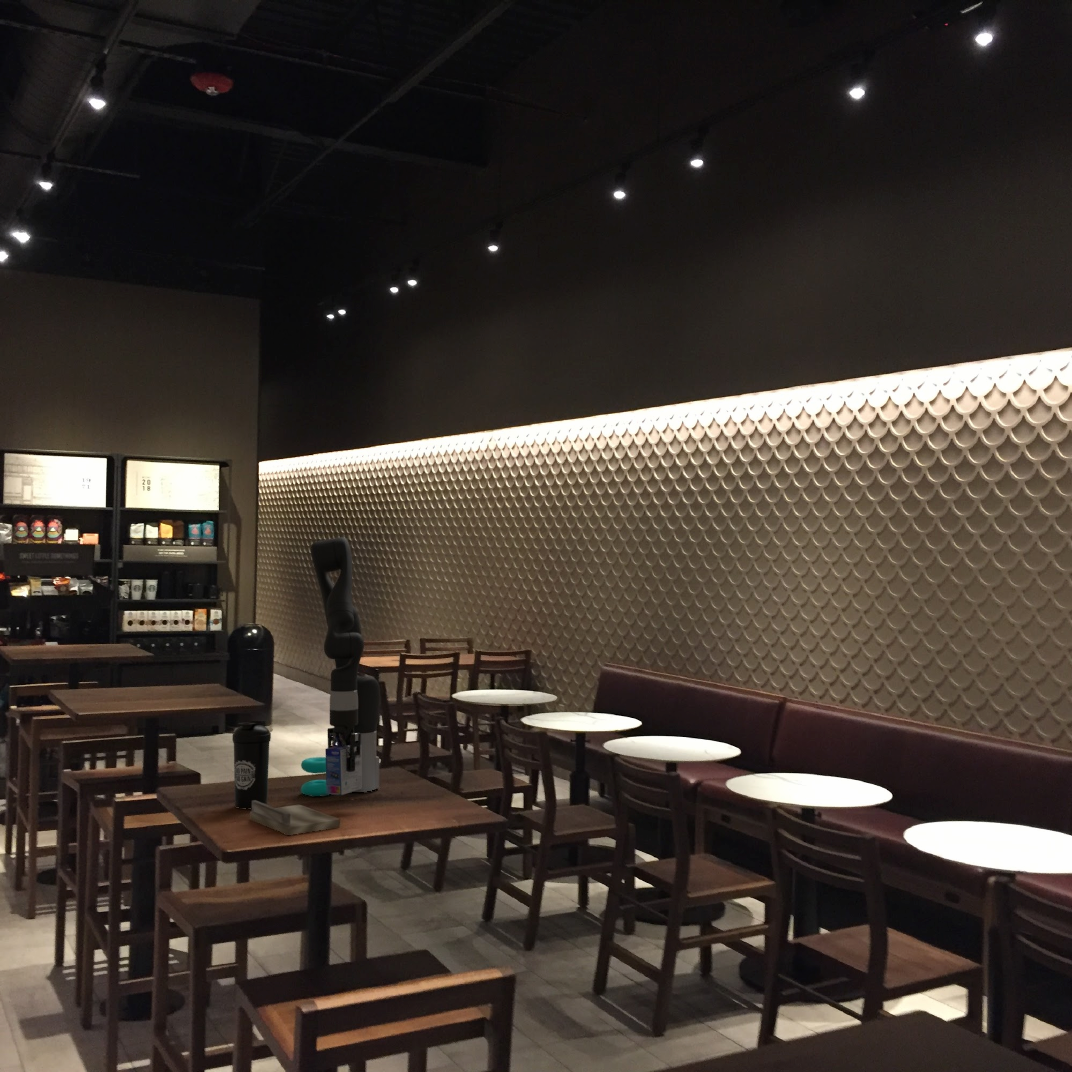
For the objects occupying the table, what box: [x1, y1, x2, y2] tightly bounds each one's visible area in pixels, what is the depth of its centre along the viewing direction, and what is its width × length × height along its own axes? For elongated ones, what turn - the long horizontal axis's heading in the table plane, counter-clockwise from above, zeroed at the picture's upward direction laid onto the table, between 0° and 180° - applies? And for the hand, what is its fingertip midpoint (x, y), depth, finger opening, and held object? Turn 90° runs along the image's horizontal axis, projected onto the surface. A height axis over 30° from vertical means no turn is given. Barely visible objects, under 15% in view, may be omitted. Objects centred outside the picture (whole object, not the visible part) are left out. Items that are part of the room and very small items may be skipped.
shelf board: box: [249, 800, 341, 836], centre depth 273 cm, size 14×22×5 cm, turn 39°
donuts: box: [300, 756, 330, 796], centre depth 309 cm, size 10×10×10 cm
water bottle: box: [231, 719, 272, 810], centre depth 293 cm, size 10×10×23 cm
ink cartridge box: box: [324, 737, 362, 796], centre depth 286 cm, size 10×6×14 cm, turn 155°
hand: (343, 769), depth 286 cm, fingers closed on ink cartridge box, 7 cm apart
